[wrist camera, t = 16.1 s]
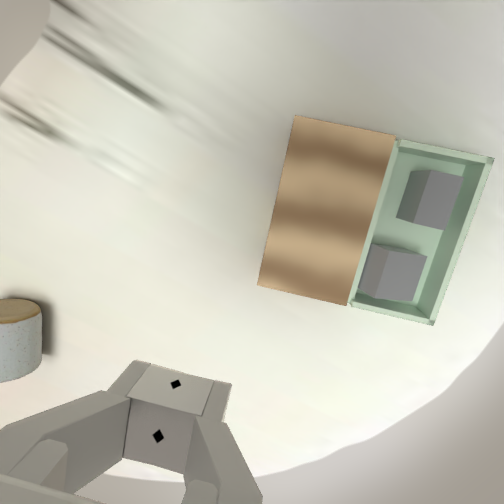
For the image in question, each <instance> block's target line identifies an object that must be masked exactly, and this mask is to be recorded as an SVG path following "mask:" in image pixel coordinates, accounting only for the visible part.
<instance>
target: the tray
mask: <svg viewBox="0 0 504 504" xmlns="http://www.w3.org/2000/svg"><path fill="white" fill-rule="evenodd" d="M494 159H495V158H492V157H487V156H482V155H477V154H472V153H467V152H462V151H457V150H452V149H447V148H442V147H437V146H432V145H427V144H423V143H418V142H413V141H408V140H403V139H401V140H395V142H394V145H393V149H392V152H391V155H390V159H389V162H388V166H387V169H386V172H385V176H384V179H383V183H382V186H381V189H380V193H379V196H378V200H377V203H376V206H375V210H374V213H373V216H372V220H371V223H370V227H369V230H368V233H367V237H366V240H365V244H364V247H363V250H362V254H361V257H360V261H359V264H358V267H357V271H356V274H355V278H354V281H353V284H352V288H351V291H350V295H349V298H348V301H347V303H350V305H351V307H355V308H359V309H363V310H368V311H372V312H376V313H380V314H385V315H389V316H393V317H397V318H402V319H406V320H410V321H415V322H419V323H423V324H427V325H432V326H433V325H434V322H435V320H436V317H437V314H438V312H439V309H440V306H441V303H442V301H443V298H444V295H445V292H446V290H447V287H448V284H449V282H450V279H451V276H452V273H453V271H454V268H455V265H456V262H457V260H458V257H459V254H460V251H461V249H462V246H463V243H464V241H465V238H466V235H467V232H468V230H469V227H470V224H471V221H472V219H473V216H474V213H475V210H476V208H477V205H478V202H479V200H480V197H481V194H482V191H483V189H484V186H485V183H486V180H487V178H488V175H489V172H490V170H491V167H492V164H493V161H494ZM422 170H434V171H439V172H443V173H448V174H452V175H457V176H461V177H464V180H463V182H462V185H461V188H460V191H459V193H458V196H457V199H456V202H455V204H454V207H453V210H452V213H451V215H450V218H449V221H448V223H447V226H446V229H445V231H444V230H440V229H435V228H431V227H427V226H422V225H418V224H414V223H411V222H407V221H404V220H401V219H398V218H396V215H397V212H398V209H399V206H400V203H401V200H402V197H403V194H404V191H405V188H406V184H407V181H408V178H409V175H410V172H411V171H422ZM371 243H373V244H380V245H386V246H393V247H399V248H406V249H409V250H411V251H414V252H417V253H420V254H422V255H425V256H427V259H426V262H425V265H424V268H423V271H422V274H421V277H420V280H419V283H418V286H417V289H416V292H415V295H414V298H413V301H402V300H389V299H376V298H373V297H372V296H370V295H368V294H367V293H365V292H364V291H362V290H360V289H359V288H357V287H358V284H359V281H360V277H361V274H362V271H363V267H364V264H365V261H366V257H367V254H368V251H369V247H370V244H371Z"/></svg>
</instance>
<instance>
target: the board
mask: <svg viewBox="0 0 504 504" xmlns="http://www.w3.org/2000/svg"><path fill="white" fill-rule="evenodd" d="M395 138H396V136H395V135H390V134H385V133H381V132H376V131H371V130H366V129H361V128H356V127H351V126H346V125H341V124H336V123H331V122H326V121H321V120H316V119H311V118H306V117H302V116H297V115H295V117H294V121H293V126H292V130H291V135H290V139H289V144H288V148H287V153H286V157H285V161H284V166H283V170H282V175H281V179H280V184H279V188H278V193H277V197H276V202H275V206H274V211H273V215H272V220H271V224H270V229H269V233H268V237H267V242H266V246H265V251H264V255H263V260H262V264H261V269H260V273H259V278H258V282H257V285H258V286H263V287H267V288H271V289H275V290H280V291H284V292H288V293H292V294H297V295H301V296H305V297H310V298H314V299H318V300H322V301H327V302H331V303H335V304H339V305H344V306H346V305H347V301H348V298H349V295H350V291H351V288H352V284H353V281H354V278H355V274H356V271H357V267H358V264H359V261H360V257H361V254H362V250H363V247H364V244H365V240H366V237H367V233H368V230H369V227H370V223H371V220H372V216H373V213H374V210H375V206H376V203H377V200H378V196H379V193H380V189H381V186H382V183H383V179H384V176H385V172H386V169H387V166H388V162H389V159H390V155H391V152H392V149H393V145H394V142H395Z"/></svg>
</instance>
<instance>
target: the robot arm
mask: <svg viewBox="0 0 504 504" xmlns="http://www.w3.org/2000/svg"><path fill="white" fill-rule="evenodd" d="M231 387H232V385H231V383H226V382H221V381H217V380H211V379H207V378H202V377H198V376H194V375H190V374H186V373H183V372H180V371H176V370H173V369H169V368H166V367H162V366H158V365H155V364H151V363H147V362H143V361H139V360H134V361H132V363H131V364H130V365H129V366H128V367H127V368H126V369H125V371H124V372H123V373H122V374H121V375H120V376H119V377H118V379H117V380H116V381H115V382H114V383H113V384H112V385H111V387H110V388H109V389H108V390H107V391H102V390H101V391H98V392H96V393H93V394H90V395H87V396H85V397H82V398H79V399H76V400H74V401H71V402H68V403H65V404H63V405H60V406H57V407H55V408H52V409H49V410H46V411H44V412H41V413H38V414H35V415H33V416H30V417H27V418H24V419H22V420H19V421H16V422H13V423H11V424H8V425H6V426H5V427H3V428H2V429H1V430H0V504H106V503H102V502H99V501H95V500H92V499H88V498H85V497H81V496H78V495H74V493H75V492H76V491H78V490H79V489H81V488H82V487H83V486H85V485H86V484H88V483H89V482H91V481H92V480H93V479H95V478H96V477H98V476H99V475H101V474H102V473H103V472H105V471H106V470H108V469H109V468H111V467H112V466H113V465H115V464H116V463H118V462H119V461H121V460H122V458H126V459H130V460H134V461H139V462H143V463H147V464H151V465H155V466H158V467H161V468H164V469H168V470H171V471H174V472H177V473H181V474H184V481H185V486H186V492H185V495H184V498H183V500H182V503H181V504H262V498H263V496H262V494H261V492H260V490H259V488H258V486H257V484H256V482H255V480H254V478H253V476H252V474H251V472H250V470H249V468H248V466H247V464H246V462H245V460H244V457H243V455H242V453H241V451H240V449H239V447H238V445H237V443H236V441H235V439H234V437H233V435H232V433H231V431H230V429H229V427H228V425H227V423H224V418H225V413H226V409H227V405H228V400H229V396H230V391H231Z"/></svg>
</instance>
